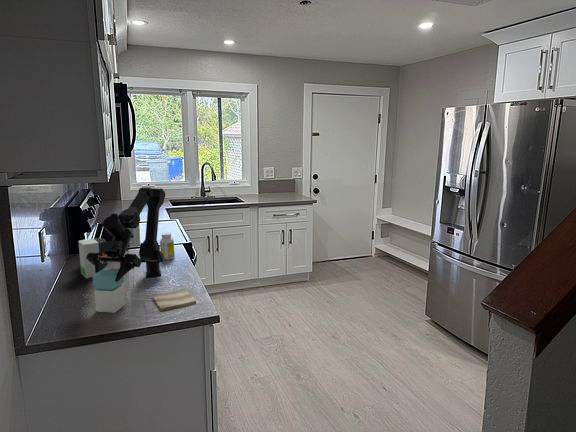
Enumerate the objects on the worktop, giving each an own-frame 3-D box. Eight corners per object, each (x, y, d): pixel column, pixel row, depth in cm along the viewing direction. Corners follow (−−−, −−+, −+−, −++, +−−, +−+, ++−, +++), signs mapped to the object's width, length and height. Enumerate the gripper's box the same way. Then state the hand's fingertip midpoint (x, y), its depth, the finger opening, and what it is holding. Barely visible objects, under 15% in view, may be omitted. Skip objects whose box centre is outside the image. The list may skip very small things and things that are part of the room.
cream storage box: (107, 302, 145) (105, 282, 144) (125, 303, 145) (124, 283, 143) (96, 311, 138) (94, 290, 137) (115, 312, 138) (113, 291, 136)
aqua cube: (105, 284, 144) (104, 268, 142) (124, 285, 143) (122, 269, 142) (94, 292, 137) (92, 275, 135) (113, 293, 136) (111, 276, 135)
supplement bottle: (176, 256, 201) (174, 232, 198) (172, 260, 194) (171, 235, 192) (163, 256, 200) (161, 232, 198) (159, 260, 194) (157, 235, 191)
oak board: (152, 298, 150) (152, 295, 149) (185, 291, 156) (185, 289, 156) (161, 311, 139) (160, 308, 139) (196, 303, 145) (196, 300, 145)
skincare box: (81, 273, 175) (77, 240, 172) (96, 270, 179) (93, 237, 176) (86, 278, 169) (82, 244, 166) (102, 275, 173) (98, 241, 170)
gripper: (86, 231, 140) (69, 270, 132) (134, 232, 138) (121, 272, 130) (101, 245, 150) (86, 283, 141) (146, 247, 148) (134, 285, 139)
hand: (106, 281), depth 138 cm, fingers closed on aqua cube, 7 cm apart
